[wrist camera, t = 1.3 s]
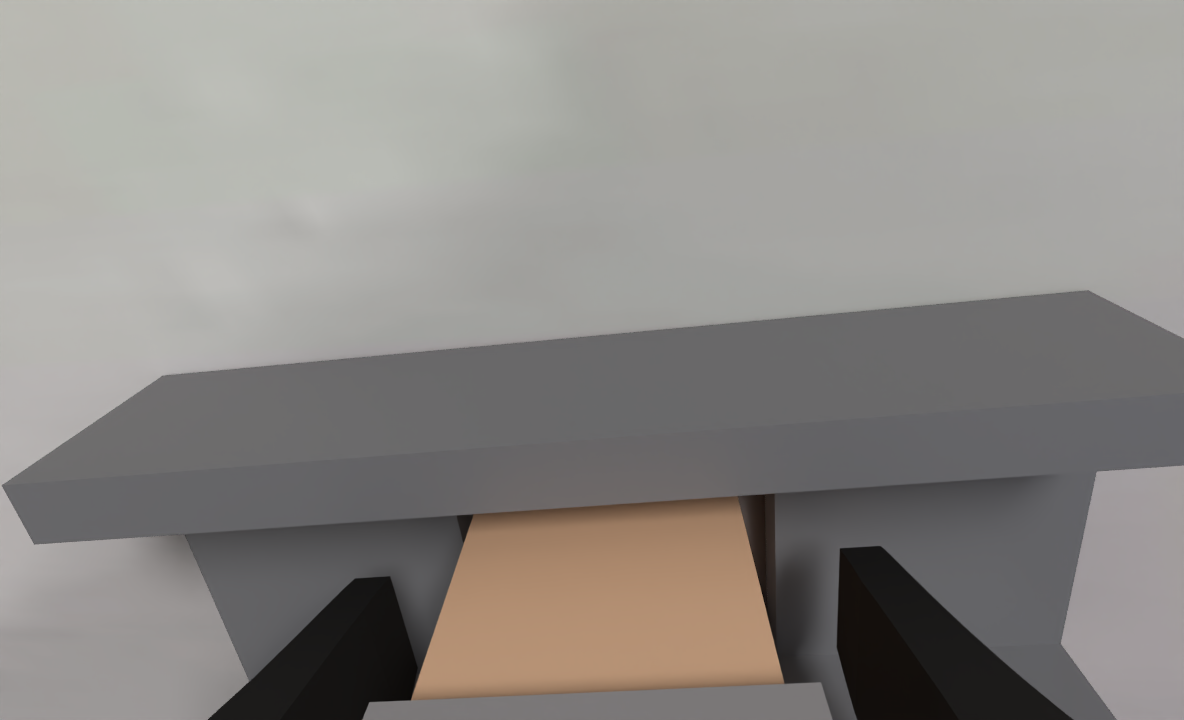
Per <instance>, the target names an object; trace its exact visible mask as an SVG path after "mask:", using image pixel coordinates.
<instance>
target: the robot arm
mask: <svg viewBox="0 0 1184 720" xmlns="http://www.w3.org/2000/svg"><path fill="white" fill-rule="evenodd" d="M836 647H837V651H838V655H839V658H840V662H841V666H842V670H843V673H844V677H845V681H846V684H847V688H848V691H849V695H850V698H851V702H852V705H853V709H854V712H855V715H856V718H857V720H1074V719H1072V718H1071V717H1070V716H1068V715H1067V714H1066V713H1065V712H1063V711H1062V710H1061V709H1060V708H1058V707H1057V706H1056V705H1055V704H1053V703H1052V702H1051V701H1050V700H1049V699H1047V698H1046V697H1045V696H1044V695H1043V694H1041V693H1040V692H1039V691H1038V690H1037V689H1035V688H1034V687H1033V686H1032V685H1030V684H1029V683H1028V682H1027V681H1026V680H1024V679H1023V678H1022V677H1021V676H1020V675H1019V674H1017V673H1016V672H1015V671H1014V670H1013V669H1012V668H1010V667H1009V666H1008V665H1007V664H1006V663H1005V662H1003V661H1002V660H1001V659H1000V658H999V657H998V656H997V655H996V654H995V653H993V652H992V651H991V650H990V649H989V648H988V647H987V646H986V645H985V644H983V643H982V642H981V641H980V640H979V639H978V638H977V637H976V636H975V635H973V634H972V633H971V632H970V631H969V630H968V629H967V628H966V627H965V626H963V625H962V624H961V623H960V622H959V621H958V620H957V619H956V618H955V617H954V616H953V615H952V614H951V613H950V612H949V611H947V610H946V609H945V608H944V607H943V606H942V605H941V604H940V603H939V602H938V601H937V600H936V599H935V598H934V597H933V596H932V595H931V594H930V593H929V592H928V591H927V590H926V589H925V588H924V587H923V586H922V585H921V584H920V583H919V582H918V581H917V580H915V579H914V578H913V577H912V576H911V575H910V574H909V573H908V572H907V571H906V570H905V569H904V568H903V567H902V566H901V565H900V564H899V563H898V562H897V561H896V560H895V559H894V558H893V557H892V556H891V555H890V554H889V553H888V552H887V551H886V550H885V549H884V548H883V547H881V546H869V547H853V548H840V557H839V587H838V616H837V646H836ZM417 669H418V666H417V663H416V660H415V656H414V653H413V650H412V647H411V643H410V640H409V637H408V633H407V630H406V627H405V623H404V620H403V617H402V613H401V610H400V607H399V603H398V600H397V597H396V594H395V590H394V587H393V584H392V580H391V577H390V576H386V577H370V578H355V579H354V580H353V581H352V582H350V583H349V584H348V585H347V586H346V587H345V588H344V589H343V590H342V591H341V592H340V593H339V594H338V595H337V596H336V597H335V598H334V599H333V600H332V601H331V602H330V603H329V604H328V605H327V606H326V607H325V608H324V609H323V610H322V611H321V612H320V613H319V614H318V615H317V616H316V617H315V618H314V619H313V620H312V621H311V622H310V623H309V624H308V625H307V626H306V627H305V628H304V629H303V630H302V631H301V632H300V633H299V634H298V635H297V636H296V637H295V638H294V639H293V640H292V641H291V642H290V643H289V644H288V645H287V646H286V647H285V648H283V649H282V650H281V651H280V652H279V653H278V654H277V655H276V656H275V657H274V658H273V659H272V660H271V661H270V662H269V663H268V664H267V665H266V666H265V667H264V668H263V669H262V670H261V671H260V672H259V673H258V674H257V675H256V676H255V677H254V678H253V679H252V680H251V681H250V682H249V683H247V684H246V685H245V686H244V687H243V688H242V689H241V690H240V691H239V692H238V693H236V694H235V695H234V696H233V697H232V698H231V699H230V700H229V701H228V702H227V703H225V704H224V705H223V706H222V707H221V708H220V709H219V710H218V711H217V712H216V713H215V714H213V715H212V716H211V717H210V718H209V719H208V720H362V719H363V717H364V714H365V712H366V710H367V707H368V705H369V702H387V701H410V700H411V698H412V694H413V689H414V684H415V679H416V674H417Z"/></svg>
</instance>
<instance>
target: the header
mask: <svg viewBox="0 0 1184 720" xmlns="http://www.w3.org/2000/svg"><path fill="white" fill-rule="evenodd" d="M1181 465H1184V339H1183V338H1181V337H1179V336H1177V335H1175V334H1173V333H1171V332H1169V331H1167V330H1165V329H1164V328H1162V327H1160V326H1158V325H1156V324H1154V323H1152V322H1150V321H1148V320H1146V319H1144V318H1142V317H1140V316H1138V315H1136V314H1134V313H1132V312H1130V311H1128V310H1126V309H1124V308H1122V307H1120V306H1118V305H1116V304H1114V303H1112V302H1110V301H1108V300H1106V299H1104V298H1102V297H1100V296H1098V295H1096V294H1094V293H1092V292H1090V291H1078V292H1067V293H1056V294H1045V295H1034V296H1023V297H1012V298H1002V299H991V300H980V301H969V302H958V303H947V304H937V305H926V306H915V307H904V308H893V309H882V310H871V311H861V312H850V313H839V314H828V315H817V316H806V317H795V318H785V319H774V320H763V321H752V322H741V323H730V324H720V325H709V326H698V327H687V328H676V329H665V330H654V331H644V332H633V333H622V334H611V335H600V336H589V337H579V338H568V339H557V340H546V341H535V342H524V343H513V344H503V345H492V346H481V347H470V348H459V349H448V350H437V351H427V352H416V353H405V354H394V355H383V356H372V357H362V358H351V359H340V360H329V361H318V362H307V363H296V364H286V365H275V366H264V367H253V368H242V369H231V370H220V371H210V372H199V373H188V374H177V375H166V376H162V377H160V378H159V379H157V380H156V381H154V382H153V383H151V384H150V385H148V386H147V387H146V388H144V389H143V390H141V391H140V392H138V393H137V394H135V395H134V396H132V397H131V398H129V399H128V400H126V401H125V402H124V403H122V404H121V405H119V406H118V407H116V408H115V409H113V410H112V411H110V412H109V413H107V414H106V415H104V416H103V417H102V418H100V419H99V420H97V421H96V422H94V423H93V424H91V425H90V426H88V427H87V428H85V429H84V430H82V431H81V432H79V433H78V434H77V435H75V436H74V437H72V438H71V439H69V440H68V441H66V442H65V443H63V444H62V445H60V446H59V447H57V448H56V449H55V450H53V451H52V452H50V453H49V454H47V455H46V456H44V457H43V458H41V459H40V460H38V461H37V462H35V463H34V464H33V465H31V466H30V467H28V468H27V469H25V470H24V471H22V472H21V473H19V474H18V475H16V476H15V477H13V478H12V479H11V480H9V481H8V482H6V483H5V484H3V485H2V487H3V489H4V491H5V492H6V494H7V496H8V498H9V500H10V501H11V503H12V505H13V507H14V509H15V510H16V512H17V514H18V516H19V518H20V519H21V521H22V523H23V525H24V527H25V528H26V530H27V532H28V534H29V536H30V537H31V539H32V541H33V543H34V544H48V543H62V542H77V541H91V540H106V539H120V538H135V537H149V536H164V535H178V534H185V536H186V539H187V541H188V543H189V545H190V548H191V550H192V552H193V554H194V557H195V559H196V561H197V564H198V566H199V568H200V570H201V573H202V575H203V577H204V579H205V582H206V584H207V586H208V588H209V591H210V593H211V595H212V598H213V600H214V602H215V604H216V607H217V609H218V611H219V613H220V616H221V618H222V620H223V622H224V625H225V627H226V629H227V632H228V634H229V636H230V638H231V641H232V643H233V645H234V647H235V650H236V652H237V654H238V656H239V659H240V661H241V663H242V666H243V668H244V670H245V672H246V675H247V677H248V679H249V681H251V680H252V679H253V678H254V677H255V676H256V675H257V674H258V673H259V672H260V671H261V670H262V669H263V668H264V667H265V666H266V665H267V664H268V663H269V662H270V661H271V660H272V659H273V658H274V657H275V656H276V655H277V654H278V653H279V652H280V651H281V650H282V649H283V648H285V647H286V646H287V645H288V644H289V643H290V642H291V641H292V640H293V639H294V638H295V637H296V636H297V635H298V634H299V633H300V632H301V631H302V630H303V629H304V628H305V627H306V626H307V625H308V624H309V623H310V622H311V621H312V620H313V619H314V618H315V617H316V616H317V615H318V614H319V613H320V612H321V611H322V610H323V609H324V608H325V607H326V606H327V605H328V604H329V603H330V602H331V601H332V600H333V599H334V598H335V597H336V596H337V595H338V594H339V593H340V592H341V591H342V590H343V589H344V588H345V587H346V586H347V585H348V584H349V583H350V582H352V581H353V580H354V579H355V578H370V577H386V576H390V577H391V580H392V584H393V587H394V590H395V594H396V597H397V600H398V603H399V607H400V610H401V613H402V617H403V620H404V623H405V627H406V630H407V633H408V637H409V640H410V643H411V647H412V650H413V653H414V656H415V660H416V663H417V666H418V669H417V674H416V679H415V684H414V689H413V693H414V690H415V687H416V684H417V681H418V678H419V675H420V672H421V669H422V666H423V663H424V660H425V657H426V654H427V651H428V648H429V645H430V642H431V639H432V636H433V633H434V630H435V627H436V624H437V621H438V619H439V616H440V613H441V610H442V607H443V604H444V601H445V598H446V595H447V592H448V589H449V586H450V583H451V580H452V577H453V574H454V571H455V568H456V565H457V562H458V559H459V556H460V553H461V550H462V547H463V545H464V542H465V539H466V536H467V533H468V530H469V527H470V524H471V521H472V518H473V515H474V514H484V513H498V512H513V511H527V510H542V509H556V508H571V507H585V506H600V505H614V504H629V503H643V502H658V501H673V500H687V499H702V498H716V497H731V496H745V495H760V494H765V533H766V581H767V616H768V620H769V624H770V628H771V632H772V636H773V640H774V644H775V648H776V652H777V656H778V660H779V664H780V668H781V672H782V676H783V680H784V684H794V683H817V682H821V684H822V687H823V690H824V694H825V697H826V700H827V703H828V707H829V710H830V713H831V716H832V719H833V720H857V718H856V715H855V712H854V709H853V705H852V702H851V698H850V695H849V691H848V688H847V684H846V681H845V677H844V673H843V670H842V666H841V662H840V658H839V655H838V651H837V647H836V646H837V616H838V587H839V557H840V548H853V547H869V546H881V547H883V548H884V549H885V550H886V551H887V552H888V553H889V554H890V555H891V556H892V557H893V558H894V559H895V560H896V561H897V562H898V563H899V564H900V565H901V566H902V567H903V568H904V569H905V570H906V571H907V572H908V573H909V574H910V575H911V576H912V577H913V578H914V579H915V580H917V581H918V582H919V583H920V584H921V585H922V586H923V587H924V588H925V589H926V590H927V591H928V592H929V593H930V594H931V595H932V596H933V597H934V598H935V599H936V600H937V601H938V602H939V603H940V604H941V605H942V606H943V607H944V608H945V609H946V610H947V611H949V612H950V613H951V614H952V615H953V616H954V617H955V618H956V619H957V620H958V621H959V622H960V623H961V624H962V625H963V626H965V627H966V628H967V629H968V630H969V631H970V632H971V633H972V634H973V635H975V636H976V637H977V638H978V639H979V640H980V641H981V642H982V643H983V644H985V645H986V646H987V647H988V648H989V649H990V650H991V651H992V652H993V653H995V654H996V655H997V656H998V657H999V658H1000V659H1001V660H1002V661H1003V662H1005V663H1006V664H1007V665H1008V666H1009V667H1010V668H1012V669H1013V670H1014V671H1015V672H1016V673H1017V674H1019V675H1020V676H1021V677H1022V678H1023V679H1024V680H1026V681H1027V682H1028V683H1029V684H1030V685H1032V686H1033V687H1034V688H1035V689H1037V690H1038V691H1039V692H1040V693H1041V694H1043V695H1044V696H1045V697H1046V698H1047V699H1049V700H1050V701H1051V702H1052V703H1053V704H1055V705H1056V706H1057V707H1058V708H1060V709H1061V710H1062V711H1063V712H1065V713H1066V714H1067V715H1068V716H1070V717H1071V718H1072V719H1074V720H1116V718H1115V717H1114V716H1113V714H1112V713H1111V712H1110V710H1109V709H1108V707H1107V706H1106V705H1105V703H1104V702H1103V701H1102V699H1101V698H1100V697H1099V695H1098V694H1097V693H1096V691H1095V690H1094V688H1093V687H1092V686H1091V684H1090V683H1089V682H1088V680H1087V679H1086V678H1085V676H1084V675H1083V674H1082V672H1081V671H1080V669H1079V668H1078V667H1077V665H1076V664H1075V663H1074V661H1073V660H1072V659H1071V657H1070V656H1069V655H1068V653H1067V652H1066V651H1065V649H1064V648H1063V646H1062V645H1061V639H1062V634H1063V629H1064V625H1065V620H1066V615H1067V610H1068V605H1069V601H1070V596H1071V591H1072V586H1073V582H1074V577H1075V572H1076V567H1077V562H1078V558H1079V553H1080V548H1081V543H1082V539H1083V534H1084V529H1085V524H1086V520H1087V515H1088V510H1089V505H1090V500H1091V496H1092V491H1093V486H1094V481H1095V477H1096V472H1097V471H1109V470H1123V469H1138V468H1152V467H1167V466H1181ZM412 695H413V694H412Z"/></svg>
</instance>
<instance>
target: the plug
mask: <svg viewBox="0 0 1184 720" xmlns="http://www.w3.org/2000/svg"><path fill="white" fill-rule="evenodd" d="M362 720H833V719H832V716H831V713H830V710H829V707H828V703H827V700H826V697H825V694H824V690H823V687H822V684H821V682H817V683H794V684H784V680H783V676H782V672H781V668H780V664H779V660H778V656H777V652H776V648H775V644H774V640H773V636H772V632H771V628H770V624H769V620H768V616H767V612H766V608H765V604H764V600H763V596H762V592H761V588H760V584H759V580H758V576H757V572H756V568H755V564H754V560H753V556H752V552H751V548H750V544H749V540H748V536H747V532H746V528H745V524H744V520H743V516H742V512H741V508H740V504H739V500H738V496H731V497H716V498H702V499H687V500H673V501H658V502H643V503H629V504H614V505H600V506H585V507H571V508H556V509H542V510H527V511H513V512H498V513H484V514H474V515H473V518H472V521H471V524H470V527H469V530H468V533H467V536H466V539H465V542H464V545H463V547H462V550H461V553H460V556H459V559H458V562H457V565H456V568H455V571H454V574H453V577H452V580H451V583H450V586H449V589H448V592H447V595H446V598H445V601H444V604H443V607H442V610H441V613H440V616H439V619H438V621H437V624H436V627H435V630H434V633H433V636H432V639H431V642H430V645H429V648H428V651H427V654H426V657H425V660H424V663H423V666H422V669H421V672H420V675H419V678H418V681H417V684H416V687H415V690H414V693H413V695H412V698H411V700H410V701H387V702H369V705H368V707H367V710H366V712H365V714H364V717H363V719H362Z"/></svg>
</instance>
